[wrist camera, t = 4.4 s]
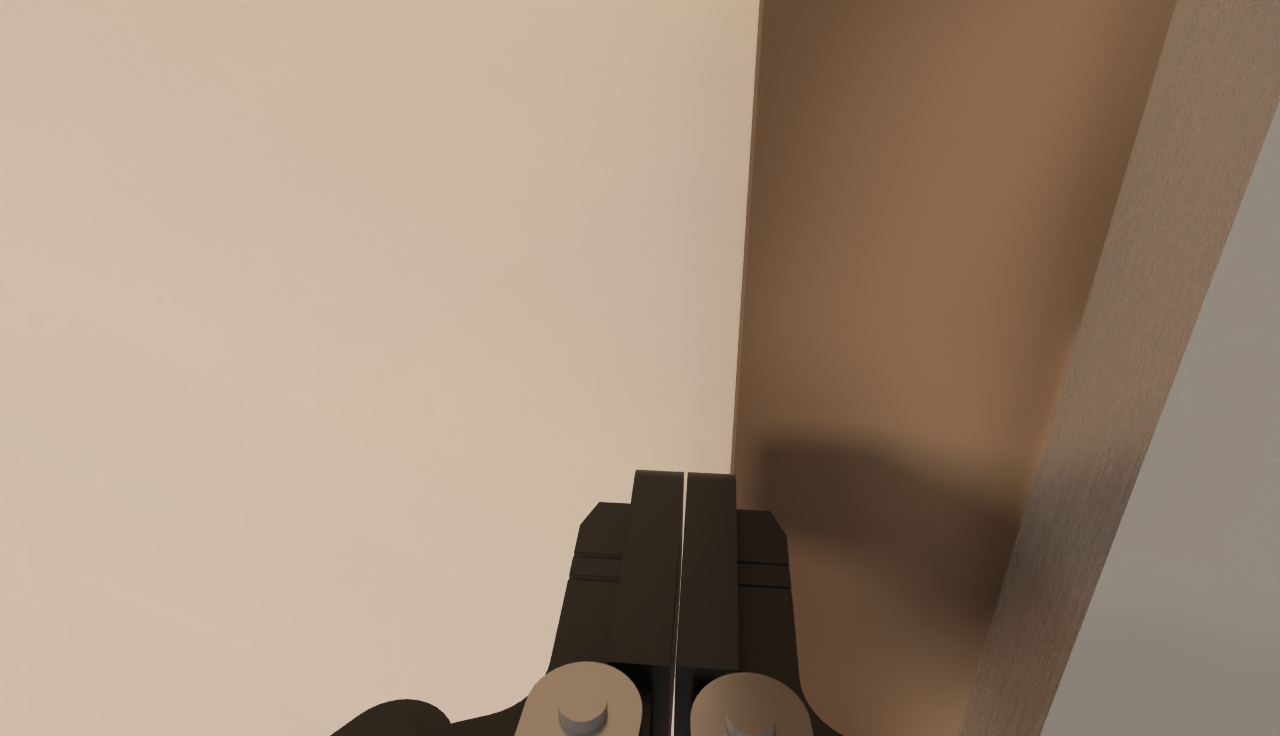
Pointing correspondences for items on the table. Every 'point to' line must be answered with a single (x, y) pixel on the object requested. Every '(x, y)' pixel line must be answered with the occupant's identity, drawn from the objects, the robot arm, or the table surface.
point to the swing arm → (1164, 431)
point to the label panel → (919, 312)
